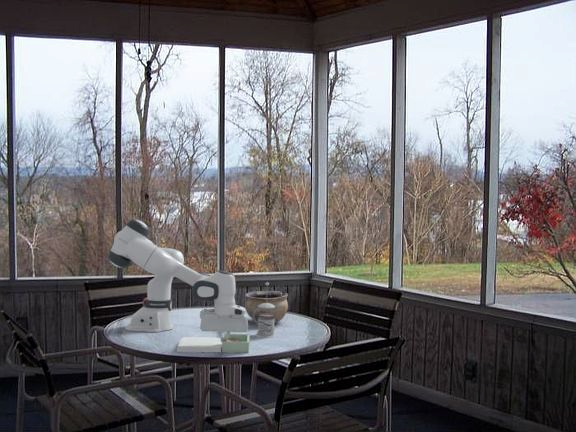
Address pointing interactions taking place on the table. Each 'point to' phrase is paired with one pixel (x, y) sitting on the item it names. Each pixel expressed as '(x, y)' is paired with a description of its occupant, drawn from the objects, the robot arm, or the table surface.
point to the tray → (236, 343)
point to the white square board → (199, 344)
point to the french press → (265, 321)
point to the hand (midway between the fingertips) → (223, 341)
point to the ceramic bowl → (267, 297)
